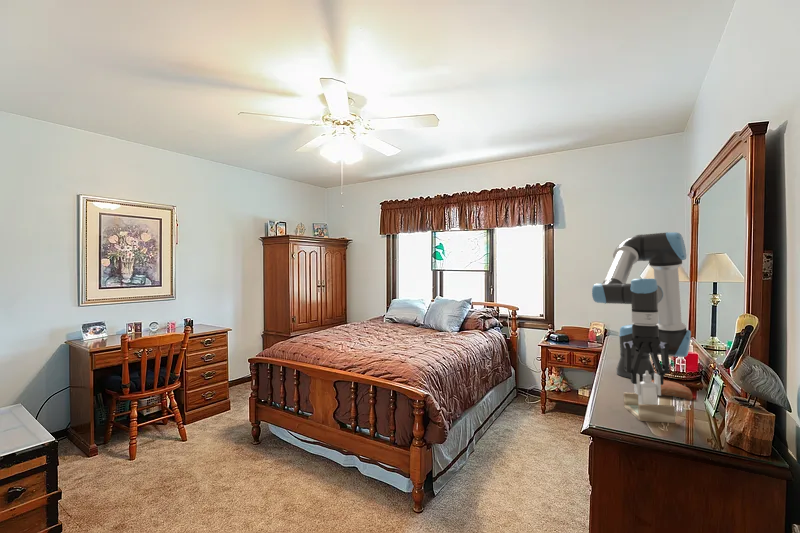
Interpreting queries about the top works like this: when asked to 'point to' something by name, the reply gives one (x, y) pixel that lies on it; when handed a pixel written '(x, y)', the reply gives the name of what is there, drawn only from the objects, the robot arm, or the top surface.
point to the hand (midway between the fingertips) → (647, 393)
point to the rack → (648, 410)
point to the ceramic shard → (675, 390)
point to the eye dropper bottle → (647, 391)
